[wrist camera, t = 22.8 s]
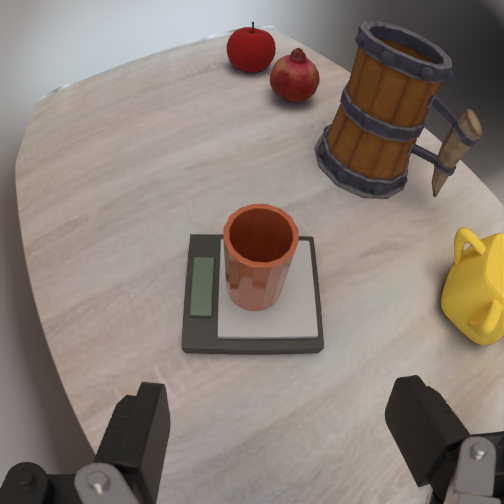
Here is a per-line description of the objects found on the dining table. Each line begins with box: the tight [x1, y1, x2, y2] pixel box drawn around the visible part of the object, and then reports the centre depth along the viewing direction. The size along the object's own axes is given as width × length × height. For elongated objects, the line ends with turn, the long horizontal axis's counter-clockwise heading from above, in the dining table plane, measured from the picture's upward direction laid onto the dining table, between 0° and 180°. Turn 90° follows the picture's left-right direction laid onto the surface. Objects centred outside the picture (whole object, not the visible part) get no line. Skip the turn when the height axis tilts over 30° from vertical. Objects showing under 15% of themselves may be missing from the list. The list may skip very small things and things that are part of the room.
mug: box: [315, 22, 482, 199], centre depth 34 cm, size 19×14×20 cm
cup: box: [223, 204, 299, 311], centre depth 27 cm, size 5×5×9 cm
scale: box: [182, 234, 324, 354], centre depth 32 cm, size 13×12×3 cm
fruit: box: [270, 48, 320, 103], centre depth 46 cm, size 8×8×10 cm
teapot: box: [441, 227, 504, 345], centre depth 29 cm, size 14×13×10 cm
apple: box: [227, 22, 276, 72], centre depth 51 cm, size 9×9×10 cm
